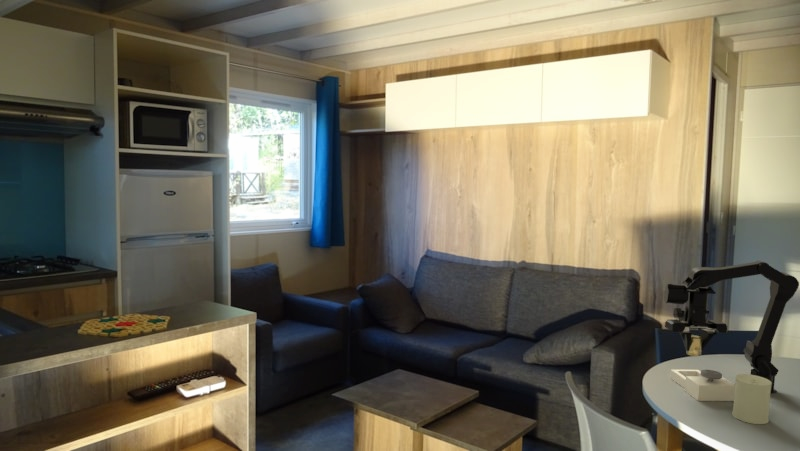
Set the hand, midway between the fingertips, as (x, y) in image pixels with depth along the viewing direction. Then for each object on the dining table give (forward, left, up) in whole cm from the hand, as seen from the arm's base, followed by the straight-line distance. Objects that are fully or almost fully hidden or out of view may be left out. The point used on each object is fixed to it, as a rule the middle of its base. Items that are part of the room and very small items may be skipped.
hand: (693, 350), depth 198 cm
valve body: (0, +5, -11) cm, 12 cm away
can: (-3, +27, -11) cm, 30 cm away
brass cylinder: (0, 0, -1) cm, 1 cm away
